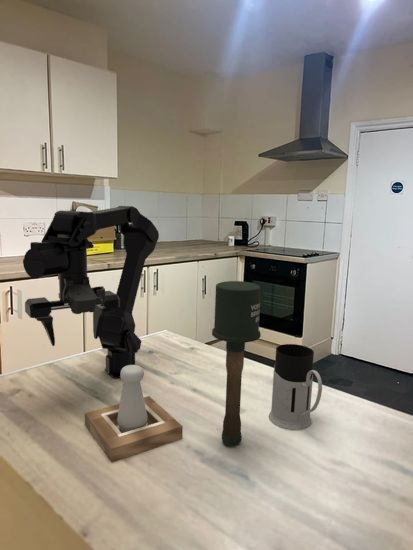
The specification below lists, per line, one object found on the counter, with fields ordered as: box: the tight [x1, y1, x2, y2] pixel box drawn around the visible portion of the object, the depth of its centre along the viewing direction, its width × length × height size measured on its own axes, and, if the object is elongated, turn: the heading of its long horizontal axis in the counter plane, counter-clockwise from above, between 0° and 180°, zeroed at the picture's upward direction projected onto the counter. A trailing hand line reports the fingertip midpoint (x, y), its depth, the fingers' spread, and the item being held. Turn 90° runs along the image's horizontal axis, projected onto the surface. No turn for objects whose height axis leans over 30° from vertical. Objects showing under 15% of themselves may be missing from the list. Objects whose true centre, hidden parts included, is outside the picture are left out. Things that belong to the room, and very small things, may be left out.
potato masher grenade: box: [211, 280, 262, 448], centre depth 76 cm, size 8×9×30 cm
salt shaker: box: [117, 364, 148, 433], centre depth 80 cm, size 6×6×13 cm
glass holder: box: [268, 343, 323, 431], centre depth 84 cm, size 9×14×15 cm, turn 18°
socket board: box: [84, 395, 184, 463], centre depth 81 cm, size 14×14×3 cm
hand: (75, 341), depth 92 cm, fingers open, 9 cm apart
